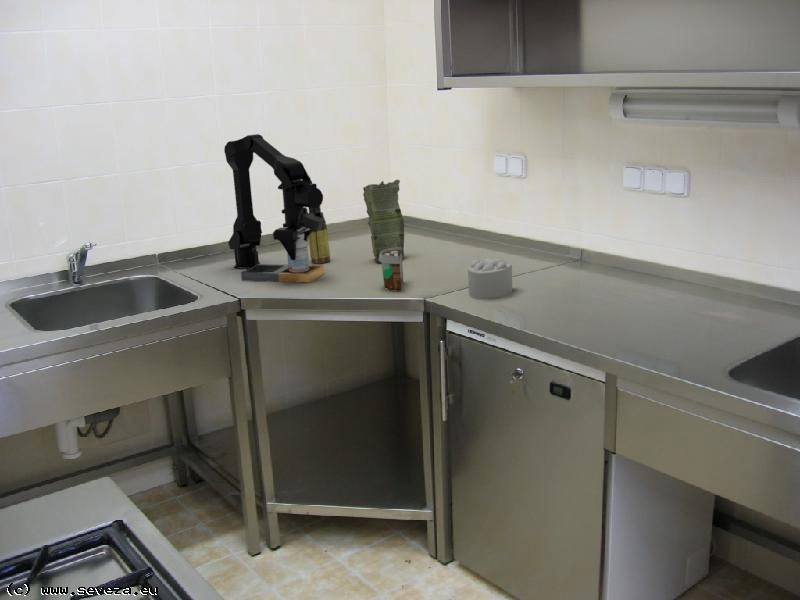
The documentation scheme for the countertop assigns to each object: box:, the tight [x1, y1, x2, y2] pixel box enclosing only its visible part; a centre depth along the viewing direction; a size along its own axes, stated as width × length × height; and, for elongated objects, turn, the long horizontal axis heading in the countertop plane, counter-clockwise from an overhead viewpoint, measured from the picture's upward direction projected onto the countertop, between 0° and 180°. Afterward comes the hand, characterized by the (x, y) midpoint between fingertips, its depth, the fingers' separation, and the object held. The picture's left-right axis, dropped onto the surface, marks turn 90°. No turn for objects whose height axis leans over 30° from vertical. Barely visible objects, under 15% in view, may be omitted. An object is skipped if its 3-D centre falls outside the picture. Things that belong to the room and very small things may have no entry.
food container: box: [379, 247, 404, 292], centre depth 234 cm, size 12×6×10 cm, turn 177°
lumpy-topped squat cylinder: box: [467, 257, 513, 300], centre depth 223 cm, size 10×13×9 cm
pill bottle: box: [286, 232, 310, 273], centre depth 249 cm, size 6×6×11 cm
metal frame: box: [240, 263, 325, 283], centre depth 253 cm, size 22×11×2 cm, turn 72°
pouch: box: [362, 178, 405, 263], centre depth 265 cm, size 11×12×25 cm
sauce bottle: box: [308, 205, 331, 264], centre depth 267 cm, size 7×6×20 cm
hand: (298, 257), depth 250 cm, fingers closed on pill bottle, 6 cm apart
